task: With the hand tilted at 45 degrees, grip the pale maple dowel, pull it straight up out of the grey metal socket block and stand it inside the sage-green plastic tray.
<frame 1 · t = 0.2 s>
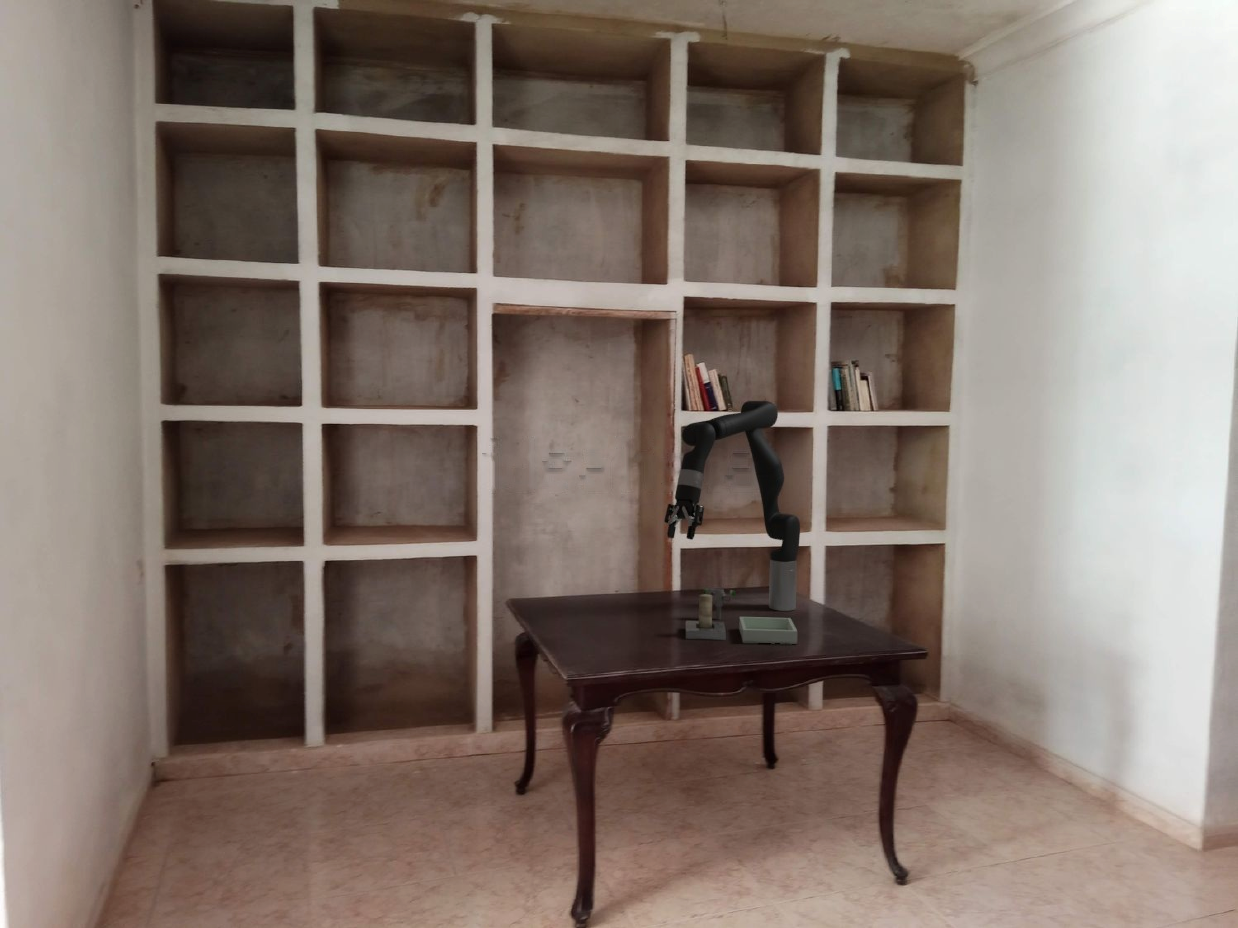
hand: (679, 538, 257), 31 cm above the table, tool tilted 20°, fingers open, 8 cm apart
tray: (767, 636, 262), on the table
socket block: (705, 633, 264), on the table
mechanical component: (718, 619, 282), on the table
dowel: (705, 614, 263), in the socket block
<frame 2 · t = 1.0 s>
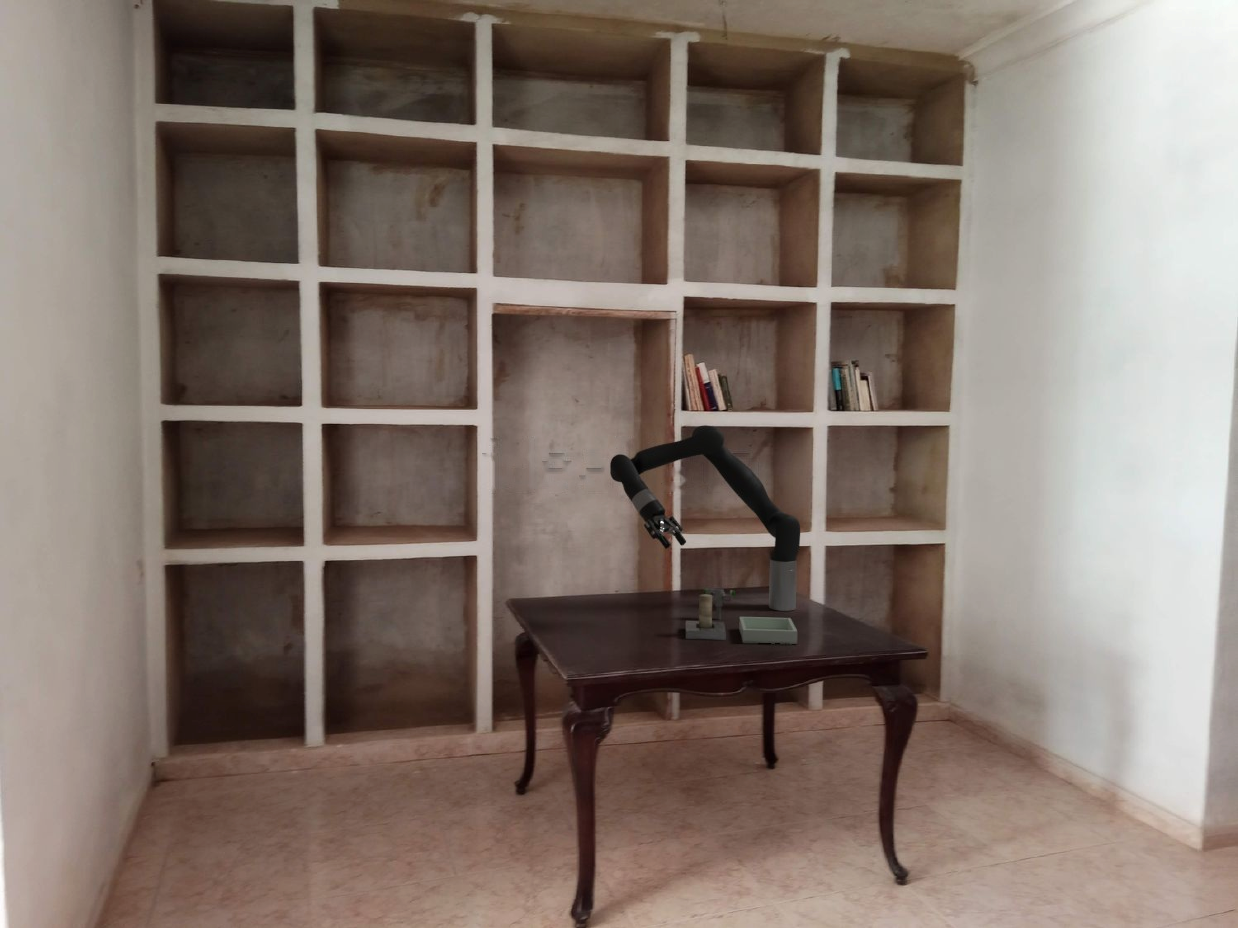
hand: (676, 545, 269), 26 cm above the table, tool tilted 45°, fingers open, 8 cm apart
nothing on the table moved.
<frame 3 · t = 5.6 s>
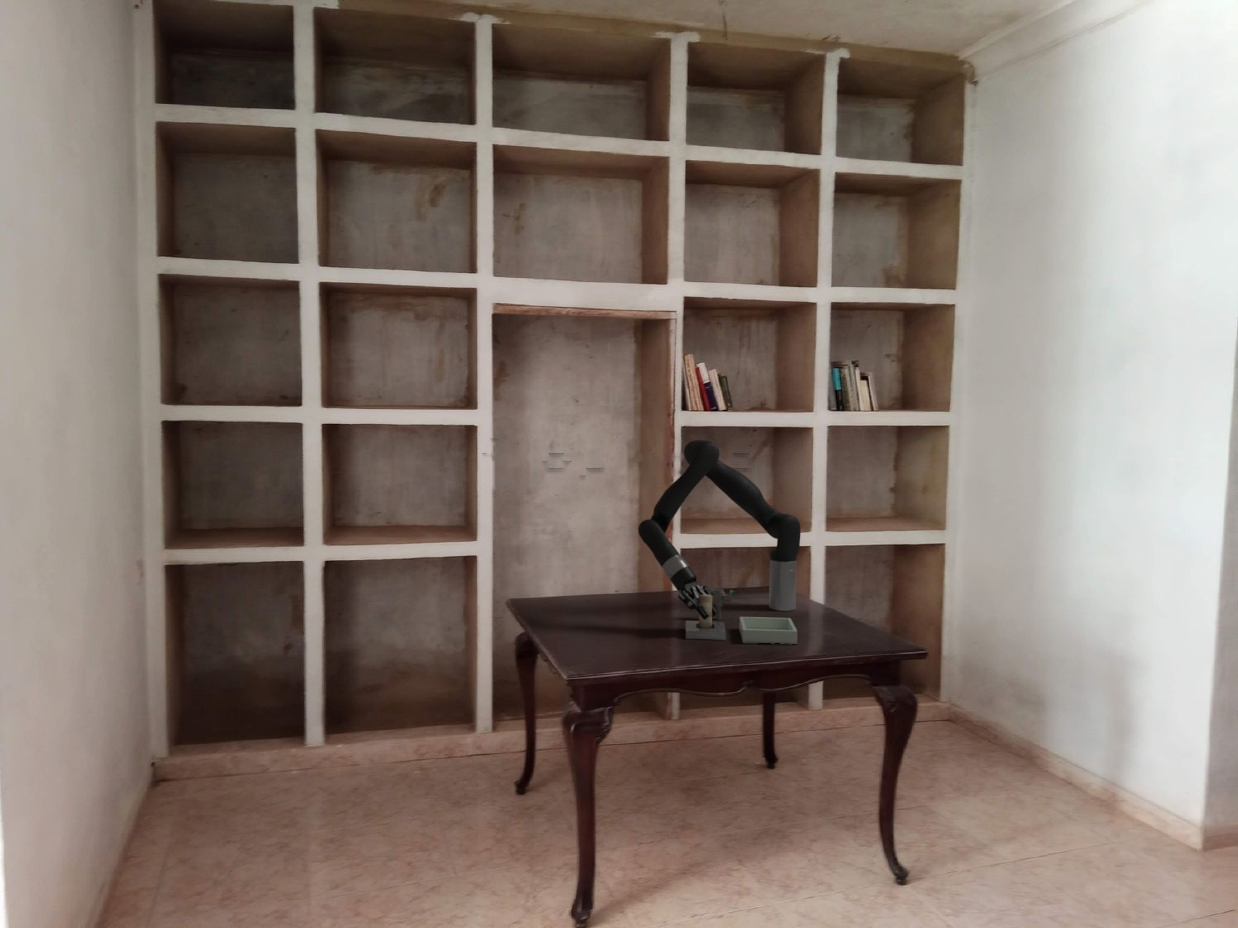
hand: (710, 616, 262), 6 cm above the table, tool tilted 45°, fingers closed on dowel, 4 cm apart
dowel: (705, 614, 263), in the socket block, touching gripper
everything else where it was.
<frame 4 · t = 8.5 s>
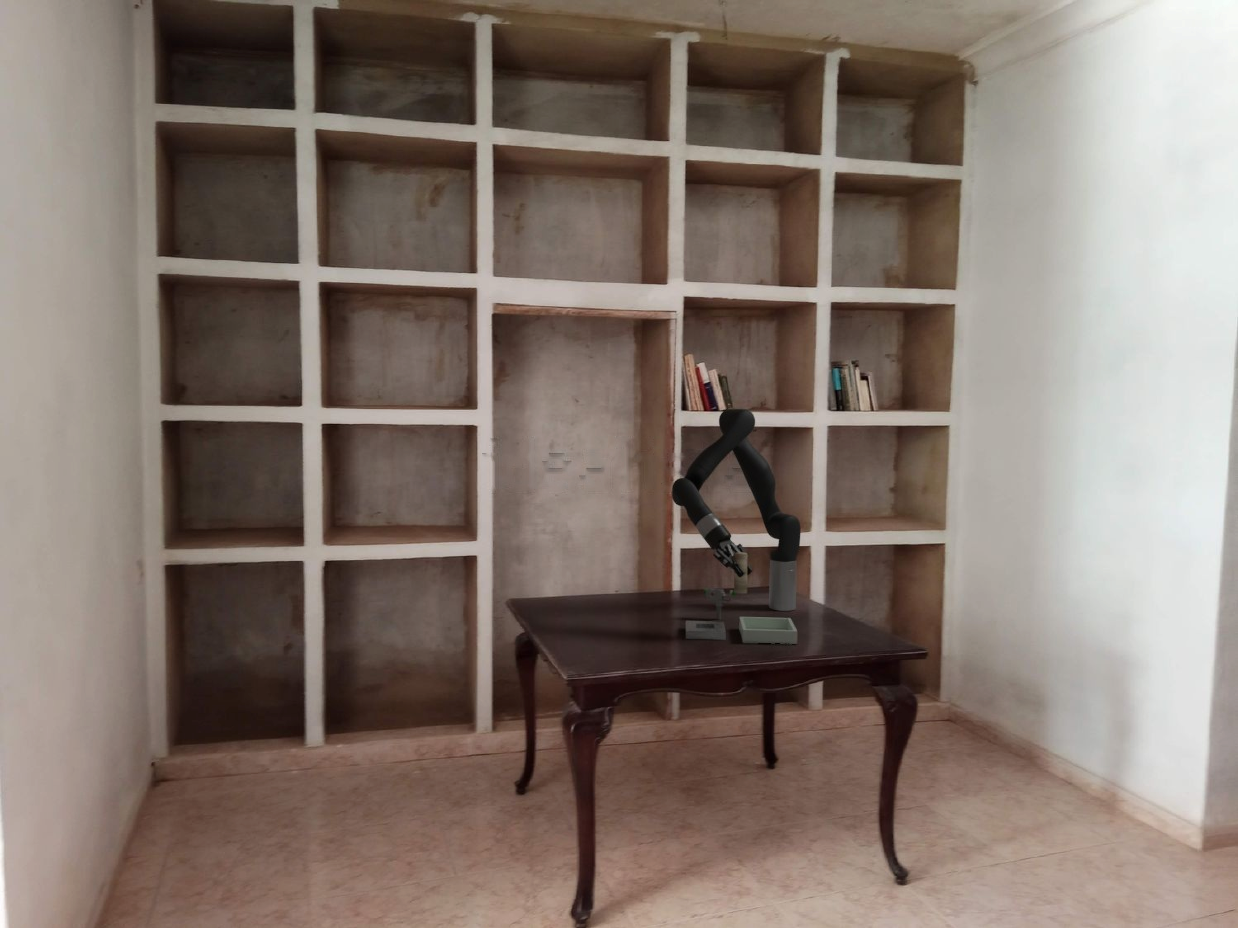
hand: (746, 574, 260), 19 cm above the table, tool tilted 45°, fingers closed on dowel, 4 cm apart
dowel: (740, 572, 262), point 20 cm above the table, touching gripper
everything else where it was.
when the fingers open (8 cm above the table, at t = 11.7 s): dowel drops 2 cm, resting on tray.
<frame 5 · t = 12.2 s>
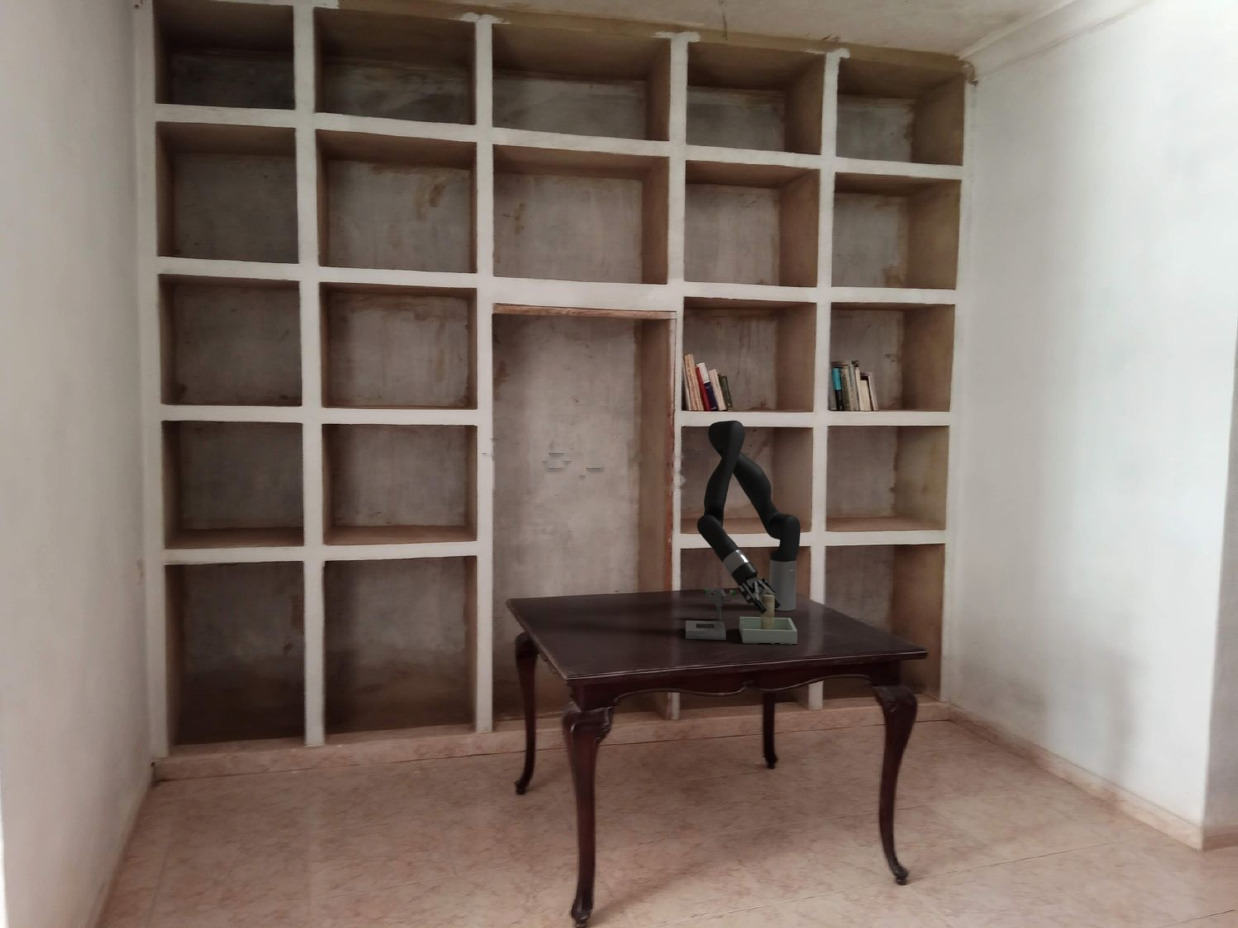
hand: (771, 609, 260), 9 cm above the table, tool tilted 45°, fingers open, 8 cm apart
dowel: (767, 615, 261), in the tray, point 7 cm above the table
everything else where it was.
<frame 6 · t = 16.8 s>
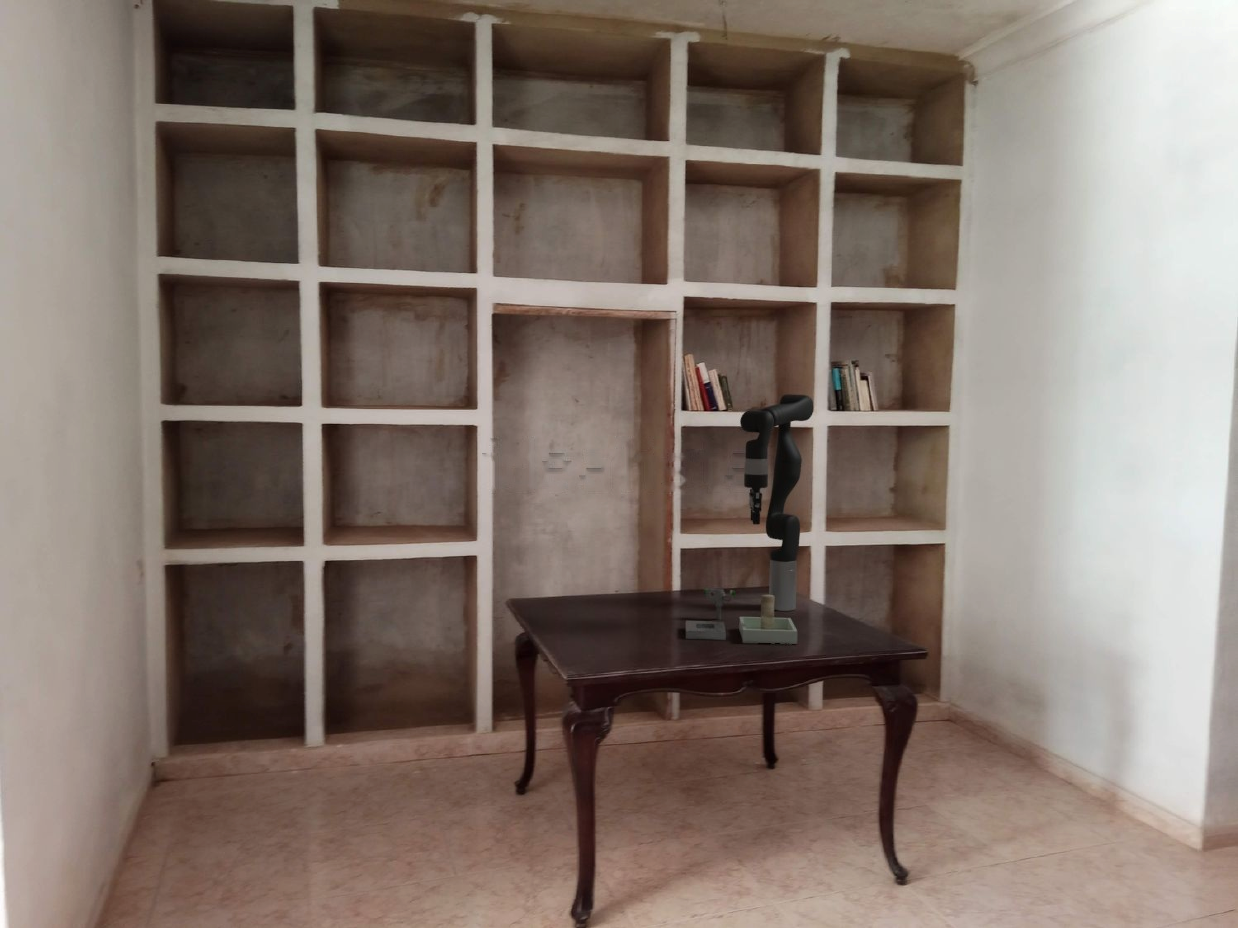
hand: (755, 522, 275), 33 cm above the table, tool pointing down, fingers open, 8 cm apart
nothing on the table moved.
at the end: dowel inside the target area on the tray (0.1 cm from its centre), point 6.6 cm above the tray's base; the gripper is holding nothing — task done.
